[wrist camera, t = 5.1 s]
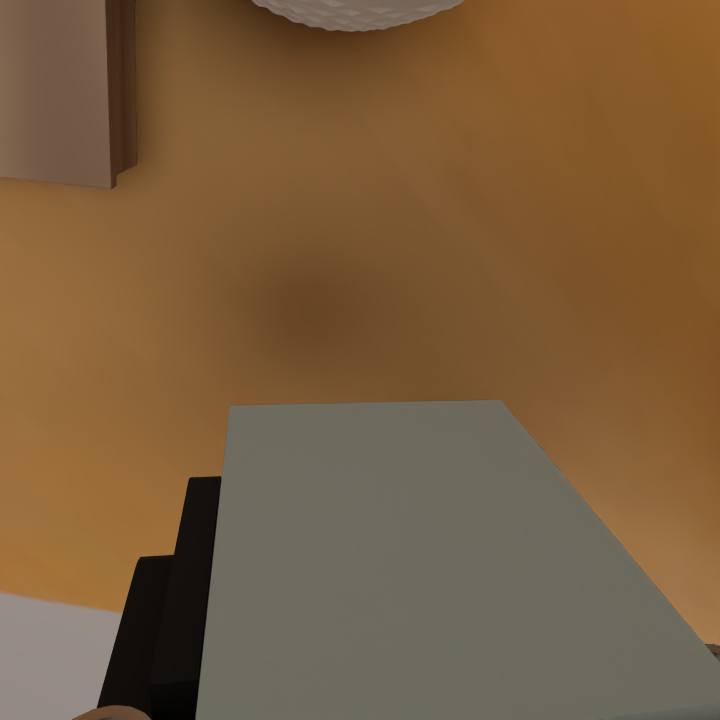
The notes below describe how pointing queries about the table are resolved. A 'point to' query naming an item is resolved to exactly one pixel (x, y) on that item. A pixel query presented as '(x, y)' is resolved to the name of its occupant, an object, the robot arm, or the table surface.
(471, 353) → the table surface
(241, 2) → the table surface
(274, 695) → the block
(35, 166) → the walnut box
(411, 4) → the mug
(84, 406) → the table surface
